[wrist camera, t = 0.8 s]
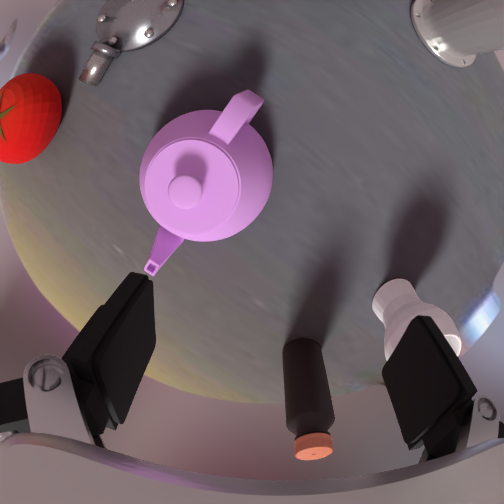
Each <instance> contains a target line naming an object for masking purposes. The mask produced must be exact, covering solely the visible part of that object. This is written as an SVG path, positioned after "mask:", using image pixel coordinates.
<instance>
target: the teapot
mask: <svg viewBox="0 0 504 504" xmlns="http://www.w3.org/2000/svg"><path fill="white" fill-rule="evenodd" d="M264 101H265V100H264V99H262V98H261V97H259V96H258V95H256V94H255V93H253V92H252V91H250V90H245V91H243V92H241V93H238V94H236V95H234V96H233V98H232V99H231V100H230V102H229V103H228V105H227V106H226V108H225V109H224V110H223V112H222V111H217V110H198V111H193V112H189V113H186V114H184V115H181V116H179V117H177V118H175V119H173V120H172V121H170V122H169V123H167V124H166V125H165V126H164V127H163V128H162V129H161V130H160V131H159V132H158V133H157V134H156V135H155V136H154V137H153V139H152V140H151V142H150V143H149V145H148V147H147V149H146V151H145V153H144V156H143V159H142V163H141V167H140V190H141V194H142V197H143V200H144V203H145V205H146V207H147V209H148V211H149V212H150V214H151V215H152V216H153V218H154V219H155V220H156V221H157V222H158V223H159V224H160V227H159V230H158V233H157V235H156V238H155V241H154V243H153V246H152V249H151V252H150V254H149V257H148V260H147V263H146V266H145V268H144V271H146V272H148V273H149V274H151V275H152V276H154V275H155V274H156V272H157V271H158V270H159V269H160V268H161V266H162V265H163V264H164V263H165V262H166V260H167V259H168V258H169V257H170V256H171V254H172V253H173V252H174V251H175V250H176V248H177V247H178V246H179V245H180V244H181V243H182V242H183V241H184V239H188V240H193V241H201V242H202V241H215V240H220V239H224V238H227V237H230V236H232V235H234V234H236V233H238V232H239V231H241V230H243V229H244V228H245V227H247V226H248V225H249V224H250V223H251V222H252V221H253V220H254V219H255V218H256V217H257V216H258V214H259V213H260V212H261V211H262V209H263V207H264V206H265V204H266V202H267V200H268V197H269V195H270V191H271V187H272V181H273V166H272V159H271V156H270V153H269V150H268V148H267V146H266V144H265V142H264V140H263V139H262V137H261V136H260V135H259V133H258V132H257V131H256V130H255V129H254V128H253V127H252V126H251V125H249V123H250V121H251V120H252V118H253V117H254V115H255V114H256V112H257V111H258V110H259V108H260V107H261V105H262V104H263V102H264Z"/></svg>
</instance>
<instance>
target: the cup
mask: <svg viewBox="0 0 504 504" xmlns="http://www.w3.org/2000/svg"><path fill="white" fill-rule="evenodd" d="M372 308H373V310H374V312H375V314H376V315H377V316H378V318H379V319H380V320H381V321H382V322H383V323H384V326H385V329H386V331H385V338H384V348H385V357H386V360H387V361H388V359H389V357H390V356H391V354H392V353H393V351H394V349H395V348H396V346H397V344H398V343H399V341H400V339H401V337H402V336H403V334H404V332H405V330H406V329H407V327H408V325H409V323H410V321H411V320H412V319H414V318H415V317H416V316H417V315H423V316H430V317H431V318H432V319H433V320H434V322H435V323H436V325H437V326H438V327H439V329H440V330H441V332H442V333H443V335H444V336H445V338H446V339H447V341H448V342H449V344H450V346H451V347H452V349H453V350H454V352H455V353H456V355H457V357H458V355H459V353H460V350H461V339H460V336H459V334H458V331H457V328H456V326H455V324H454V322H453V321H452V319H451V318H450V317H449V315H448V314H447V313H446V312H444V311H443V310H441V309H440V308H438V307H436V306H434V305H432V304H428V303H424V302H422V301H421V300H420V299H419V298H418V296H417V294H416V292H415V290H414V288H413V286H412V285H411V283H410V282H409V281H407V280H405V279H394V280H391V281H389V282H387V283H385V284H384V285H383V286H381V287H380V288H379V290H378V291H377V292H376V294H375V296H374V298H373V302H372Z"/></svg>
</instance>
